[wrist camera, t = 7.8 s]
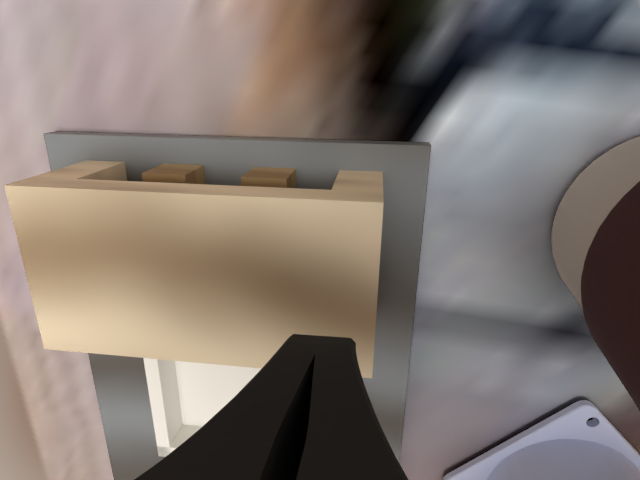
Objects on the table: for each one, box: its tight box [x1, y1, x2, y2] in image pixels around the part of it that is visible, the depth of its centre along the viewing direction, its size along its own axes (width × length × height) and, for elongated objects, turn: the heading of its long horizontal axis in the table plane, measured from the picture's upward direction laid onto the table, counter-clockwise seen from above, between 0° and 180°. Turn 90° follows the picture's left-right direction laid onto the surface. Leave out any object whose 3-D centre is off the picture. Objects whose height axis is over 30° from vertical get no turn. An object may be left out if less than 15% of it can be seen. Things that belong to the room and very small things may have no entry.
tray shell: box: [143, 358, 261, 457], centre depth 19 cm, size 12×6×2 cm, turn 179°
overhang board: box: [4, 131, 431, 480], centre depth 19 cm, size 23×15×5 cm, turn 179°
